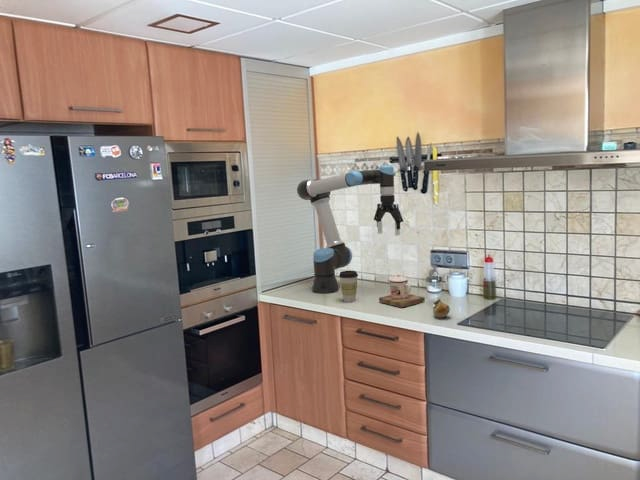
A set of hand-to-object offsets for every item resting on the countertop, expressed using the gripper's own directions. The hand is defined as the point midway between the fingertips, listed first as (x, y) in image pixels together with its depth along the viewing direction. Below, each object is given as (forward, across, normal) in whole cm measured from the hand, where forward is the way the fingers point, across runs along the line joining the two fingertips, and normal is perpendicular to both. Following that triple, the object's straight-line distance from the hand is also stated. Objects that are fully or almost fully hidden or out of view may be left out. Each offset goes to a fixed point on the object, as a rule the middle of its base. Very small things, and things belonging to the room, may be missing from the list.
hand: (388, 234), depth 282 cm
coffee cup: (+32, -2, -27) cm, 42 cm away
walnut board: (+32, +20, -11) cm, 39 cm away
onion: (+32, +51, -17) cm, 62 cm away
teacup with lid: (+29, +20, -11) cm, 37 cm away
